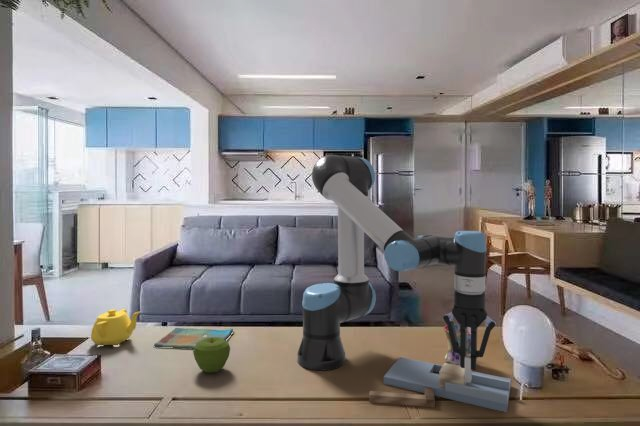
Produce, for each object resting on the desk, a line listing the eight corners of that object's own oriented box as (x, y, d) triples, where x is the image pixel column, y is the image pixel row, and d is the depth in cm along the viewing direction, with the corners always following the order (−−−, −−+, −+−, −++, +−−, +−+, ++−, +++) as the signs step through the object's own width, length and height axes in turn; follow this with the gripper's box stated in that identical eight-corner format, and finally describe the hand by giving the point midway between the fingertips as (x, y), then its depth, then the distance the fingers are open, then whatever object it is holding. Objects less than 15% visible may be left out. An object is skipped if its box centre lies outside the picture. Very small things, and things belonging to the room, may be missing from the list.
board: (383, 383, 112) (383, 369, 111) (400, 363, 125) (400, 350, 125) (506, 412, 97) (507, 396, 97) (510, 386, 110) (511, 371, 110)
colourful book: (219, 352, 135) (219, 344, 135) (152, 349, 137) (152, 342, 137) (235, 334, 152) (235, 327, 152) (175, 332, 155) (175, 325, 154)
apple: (186, 371, 120) (185, 338, 119) (217, 360, 127) (216, 329, 127) (206, 382, 112) (205, 347, 112) (237, 370, 120) (237, 337, 120)
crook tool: (369, 402, 102) (369, 394, 102) (370, 390, 108) (370, 383, 108) (434, 407, 99) (434, 399, 99) (432, 395, 105) (432, 388, 105)
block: (439, 386, 106) (439, 371, 106) (443, 377, 111) (444, 362, 111) (463, 391, 103) (463, 376, 103) (466, 381, 108) (467, 367, 108)
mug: (477, 370, 120) (478, 335, 119) (445, 367, 122) (445, 333, 121) (470, 354, 132) (471, 322, 131) (440, 352, 133) (441, 320, 133)
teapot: (99, 354, 132) (97, 319, 131) (85, 343, 142) (84, 310, 141) (142, 343, 142) (141, 310, 141) (126, 333, 152) (125, 302, 151)
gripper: (440, 291, 104) (439, 381, 105) (495, 297, 98) (493, 392, 99) (446, 285, 110) (445, 369, 112) (498, 290, 104) (496, 380, 105)
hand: (468, 380), depth 105 cm, fingers closed
